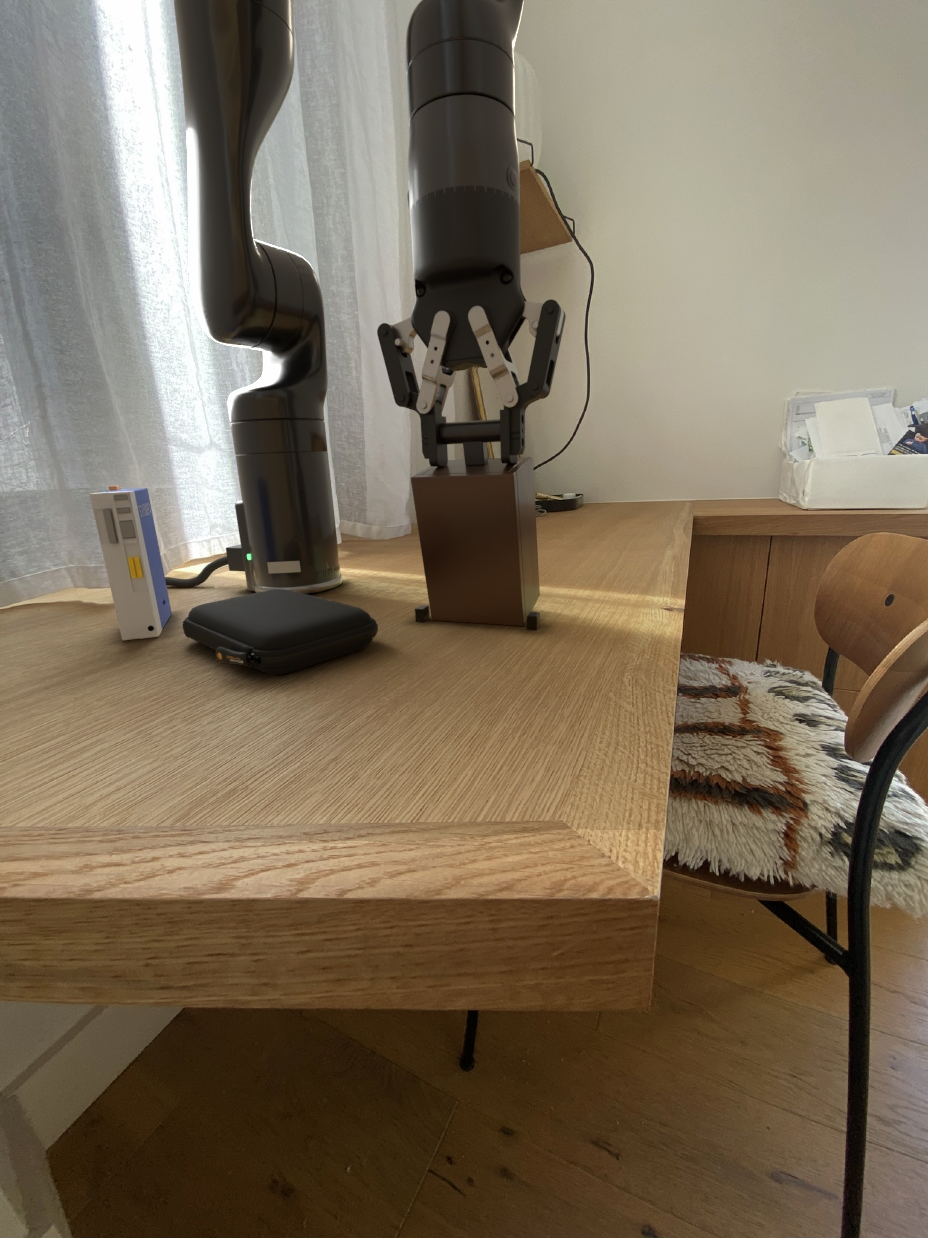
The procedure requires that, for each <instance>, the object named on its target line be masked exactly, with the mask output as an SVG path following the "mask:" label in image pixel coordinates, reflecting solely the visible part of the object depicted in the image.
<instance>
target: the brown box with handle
mask: <svg viewBox="0 0 928 1238" xmlns="http://www.w3.org/2000/svg"><path fill="white" fill-rule="evenodd" d="M440 439H441V442H442V443H443V444H444V445H446V444H447V445H462V448H463V457H464V458H463V459H448V464H447V465H446V466H436V467H431V466H430V465H429V466H428V467H425V468H423V470H421V471H419V472H418V473H416V474H414V475H412V476H411V477H410V484H411V490H412V498H413V504H414V511H415V517H416V524H417V531H418V538H419V544H420V551H421V558H422V564H423V565H422V566H423V570H424V578H425V583H426V584H425V585H426V591H427V598H428V599H427V600H428V606H429V613H430V619H431V620H432V621H443V622H457V623H472V624H487V625H499V626H500V625H501V626H517V627H524V626H525V624H526V623H527V615H528V614H529V613H530V612H533V609H534V607H535V606H536V604H537V602H538V600H539V598H540V597H541V593H540V592H541V591H540V572H539V552H538V550H539V549H538V532H537V529H538V528H537V514H536V513H537V511H536V509H537V508H536V491H535V473H534V472H535V471H534V457H533V456H520V457H518V456H517V463H505V464H502V462H501V457H496V458H494V457H493V458H489V457H488V444H487V443H500V418H496V419H494V418H493V419H480V420H465V421H450V422H449V421H448V422H446V423H442V424H441V426H440Z"/></svg>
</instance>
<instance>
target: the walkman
mask: <svg viewBox="0 0 928 1238" xmlns="http://www.w3.org/2000/svg"><path fill="white" fill-rule="evenodd" d="M89 498H90V499H89V500H90V502H91V507H92V512H93V515H94V516H93V517H94V520H95V525H96V530H97V534H98V539H99V542H100V547H101V553H102V556H103V561H104V565H105V570H106V576H107V578H108V579H107V580H108V583H109V588H110V592H111V596H112V602H113V605H114V610H115V614H116V619H117V623H118V628H119V632H120V637H121V640H122V641H128V640H129V641H130V640H137V639H140V640H141V639H151V638H159V636H160V635H161V633H162V632H163V629H164V627H165V626H166V624H167V622H168V620H169V618H170V617H171V615H172V613H173V612H172V608H171V602H170V598H169V592H168V587H167V586H166V581H165V577H166V576H165V571H164V567H163V561H162V557H161V551H160V546H159V540H158V535H157V531H156V524H155V519H154V514H153V510H152V504H151V499H150V494H149V489H148V487H143V488H141V487H139V488H123V489H122V488H121V486H120V485H109V486H108V490H104V491H97V492H91V493H89Z"/></svg>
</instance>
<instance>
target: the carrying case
mask: <svg viewBox="0 0 928 1238" xmlns="http://www.w3.org/2000/svg"><path fill="white" fill-rule="evenodd" d="M182 629H183V633H184V636H185V637H186V638H188V639H191V640H194V641H195V642H197V643H199V644H202V645H204V646H206V647H208V648H209V649H212V650H214V651H215V658H216V659H217V660H218V661H219V662H220V663H222V664H226V665H227V664H232V665H239V666H242V667H247V668H249V669H252V668H253V669H256V670H258V671H261V672H262V673H264V674H265V673H266V674H268V675H285V674H290V673H293V672H297V671H299V670H302V669H305V668H309V667H312V666H315V665H317V664H321V663H324V662H326V661H330V660H333V659H335V658H339V657H343V656H344V655H348V654H352V653H355V652H357V651H360V650H363V649H365V648H366V647H368V646H369V645H370V644H371V643H372V641H373V639H374V638H375V637H376V636H377V634H378V632H379V624H378V622H377V620H376V619H375V618H374V617H371V615H370V614H369V612H368V611H365V610H364V609H363V608H361V607H357V606H354V605H350V604H346V603H342V602H339V601H335V600H331V599H327V598H323V597H319V596H315V595H311V594H303V593H298V592H294V591H290V590H284V589H274V590H268V591H264V592H259V593H256V592H255V593H250V594H245V595H240V596H234V597H230V598H225V599H221V600H217V601H216V600H215V601H212V602H207V603H203V604H199V605H196V606H194V607H192V608H191V610H190V611H189V613H188V615H187V617H185V618H184V619H183V621H182Z"/></svg>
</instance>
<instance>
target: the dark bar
mask: <svg viewBox="0 0 928 1238" xmlns="http://www.w3.org/2000/svg"><path fill="white" fill-rule="evenodd" d="M414 618H415V623H425V622H427V621H429V620H430V606H429V605H424V604H422V605H419V606H417V607H415V608H414ZM540 627H541V613H540V612H537V611H531V612H530V613H529V614H528V615H527V621H526V630H527V631H538V630H539V628H540Z"/></svg>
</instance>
